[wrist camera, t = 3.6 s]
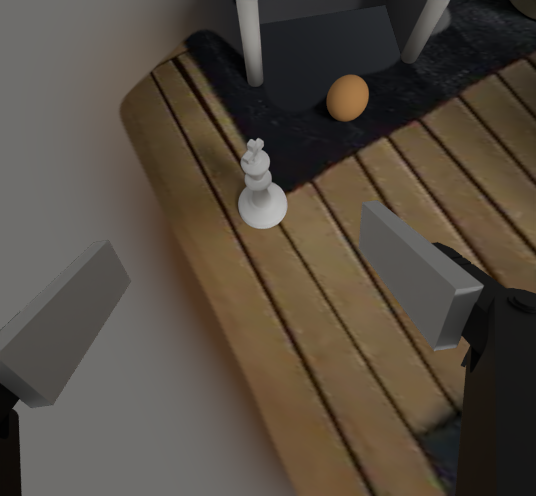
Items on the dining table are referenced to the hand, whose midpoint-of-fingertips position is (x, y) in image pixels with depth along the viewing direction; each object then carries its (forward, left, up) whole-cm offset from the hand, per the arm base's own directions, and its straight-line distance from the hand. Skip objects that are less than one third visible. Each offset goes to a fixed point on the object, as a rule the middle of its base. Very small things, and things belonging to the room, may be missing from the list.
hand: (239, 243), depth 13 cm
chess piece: (-3, -6, -11) cm, 13 cm away
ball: (-15, -12, -9) cm, 21 cm away
